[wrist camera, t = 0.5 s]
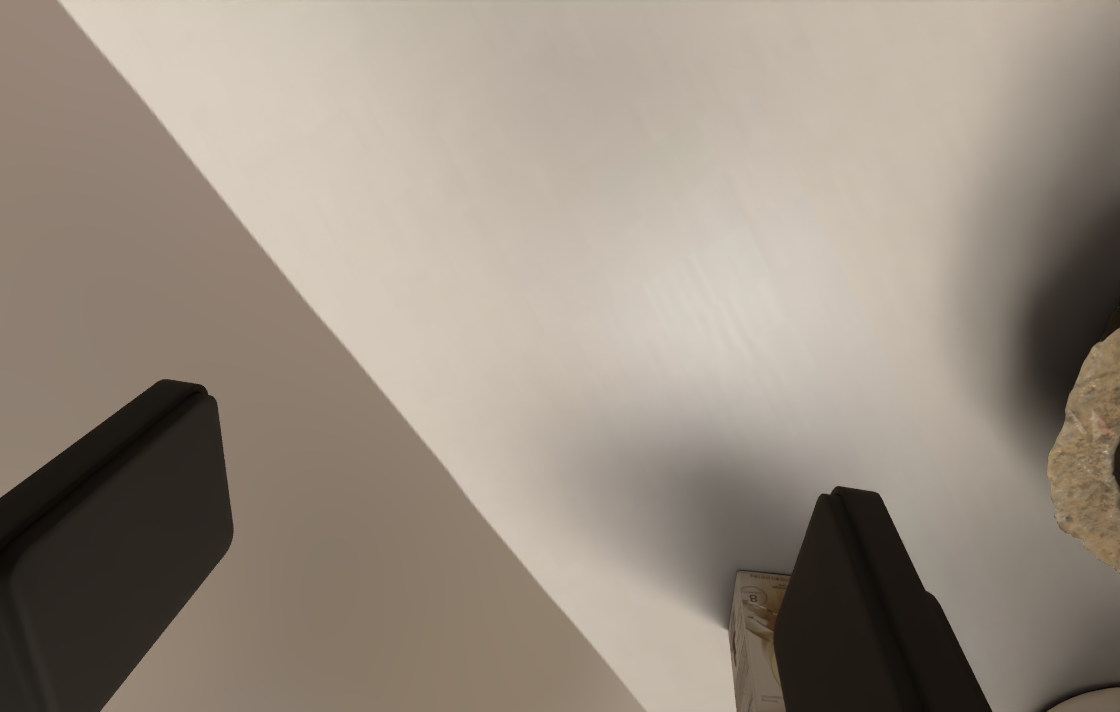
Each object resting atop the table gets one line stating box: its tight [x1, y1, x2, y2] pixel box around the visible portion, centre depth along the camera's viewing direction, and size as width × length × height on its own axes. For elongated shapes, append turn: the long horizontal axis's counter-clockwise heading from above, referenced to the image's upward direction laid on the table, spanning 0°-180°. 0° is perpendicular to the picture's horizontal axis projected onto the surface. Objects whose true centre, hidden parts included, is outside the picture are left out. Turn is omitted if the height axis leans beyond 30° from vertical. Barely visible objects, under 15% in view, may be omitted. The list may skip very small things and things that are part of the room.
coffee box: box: [728, 571, 791, 712], centre depth 42 cm, size 9×6×16 cm
